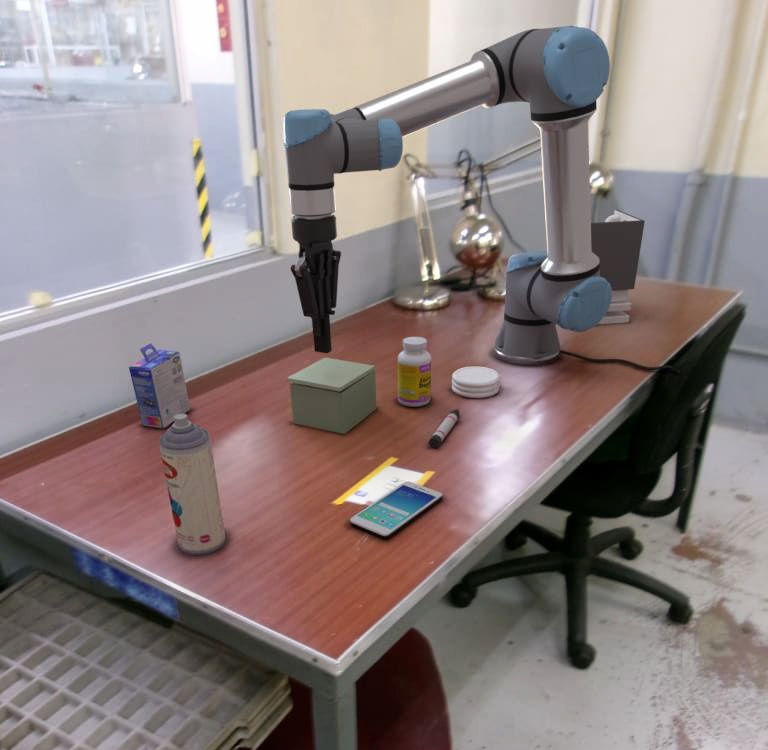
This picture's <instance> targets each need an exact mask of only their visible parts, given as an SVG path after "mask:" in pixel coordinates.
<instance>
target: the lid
mask: <svg viewBox="0 0 768 750" xmlns="http://www.w3.org/2000/svg"><path fill="white" fill-rule="evenodd" d="M374 370H375V371H376V365H372V364H366V363H361V362H354V361H348V360H343V359H337V358H331V357H326V356H325V357H323V358H321V359H319V360H318V361H316V362H314V363H312V364H310V365H307V367H304V368H303V369H301V370H299V371H297V372H295V373H293V374H291V375H289V376H288V377H286V382H287V383H297V384H302V385H307V386H313V387H318V388H323V389H329V390H334V391H339V392H340V391H342V390H343V389H345V388H347V387H348V386H350V385H351V384H353V383H355V382H356V381H358V380H359V379H361V378H363V377H364V376H366V375H368V374H369V373H371V372H372V371H374Z"/></svg>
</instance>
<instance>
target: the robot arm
mask: <svg viewBox="0 0 768 750" xmlns="http://www.w3.org/2000/svg"><path fill="white" fill-rule="evenodd" d="M610 70H611V63H610V55H609V51H608V47H607V45H606V44H605V41H604V40H603V39H602V37H601V36H599V35H598V34H597V32H595V31H594V30H593V29H590V28H587V27H582V26H581V27H580V26H574V25H565V26H554V27H546V28H531V29H526V30H523V31H521V32H518V33H516V34H514V35H512V36H509V37H507V38H505V39H502V40H500V41H498V42H496V43H493V44H491V45H490V46H487V47H485V48H483V49H480V50H478V51H476V52H474V53H473V54H472V56H471V58H470V60H469V61H467V62H464V63H462V64H459V65H457V66H455V67H452V68H449V69H446V70H445V71H441V72H439V73H436V74H435V75H432V76H429V77H427V78H424V79H422V80H419V81H416V82H414V83H411V84H410V85H407V86H404V87H402V88H399V89H397V90H394V91H392V92H389V93H386V94H384V95H381V96H379V97H376V98H374V99H372V100H369V101H365V102H364V103H361V104H359V105H357V106H354V107H352V108H348V109H346V110H343V111H341V112H339V113H335V114H333V113H331V112H330V111H328V110H327V109H324V108H318V109H317V108H312V109H310V108H309V109H306V108H305V109H294V110H293V109H292V110H289V111H287V112H286V113H285V115H284V116H283V146H284V153H285V154H284V155H285V163H286V172H287V173H286V175H287V181H288V183H287V184H288V197H289V206H290V213H291V214H292V215H293V216H292V217H291V219H290V222H291V223H290V224H291V234H292V239H293V240H294V241H295V242H296V243H297V244H298V248H299V249H298V261H297V263H296V264H291V266H290V271H291V274H292V275H293V277H294V280H295V285H296V288H297V289H296V290H297V293H298V298H299V302H300V304H301V305H300V306H301V311H302V313H303V314H302V315H303V316H304V317H307V318H310V319H311V325H312V326H311V327H312V334H313V347H314V352H316V353H322V354H329V353H331V352H332V337H331V317H330V316H334V315H335V314H336V310H334V309H336V308H337V302H338V286H339V285H338V283H339V267H340V261H341V256H342V252H341V250H335V249H334V245H333V242H332V241H335V239H337V237H338V227H337V217H336V215H335V214H334V213H335V212H336V211H337V207H336V205H337V204H336V194H335V193H336V192H335V175H336V174H345V173H357V172H371V171H378V172H382V170H383V171H384V170H389V169H394V168H396V167H397V166H398V165H399V163H400V162H401V160H402V156H403V150H404V147H403V146H404V144H403V143H404V142H403V141H404V139H403V138H404V137H407V136H410V135H412V134H415V133H417V132H419V131H421V130H424V129H427V128H429V127H432V126H434V125H437V124H438V123H441V122H444V121H447V120H449V119H451V118H454V117H456V116H458V115H461V114H464V113H465V112H469V111H471V110H473V109H476V108H478V107H481V106H482V107H483V108H485V109H491V108H493V107H496V106H499V105H502V104H508V103H518V102H519V103H529V113H530V121H531V123H532V124H533V125H535V126H536V127H537V128H538V129H539V133H540V136H539V137H540V150H541V166H542V167H541V168H542V169H541V170H542V183H543V185H542V186H543V201H544V202H543V203H544V215H545V216H544V217H545V218H544V219H545V233H546V235H545V237H546V249H547V250H540V251H539V250H538V251H527V252H525V251H524V252H519V253H515V254H513V255H511V256H510V257H509V259H508V260H507V267H506V271H505V275H506V281H505V296H504V310H503V312H504V313H503V322H502V324H501V327H500V329H499V332H498V333H497V336H496V338H495V342H494V344H493V355H494V357H495V358H496V359H498V360H499V361H502V362H504V363H508V364H511V365H518V366H543V365H547V364H551V363H554V362H557V361H558V360H559V358H560V357H561V354H562V355H566V356H570V357H573V358H577V359H580V360H582V361H586V362H590V363H621V364H626V365H630V366H632V367H634V368H637V369H641V370H645V371H660V370H667V369H668V370H672V371H674V372H675V373H676V374H681V372H680V370H679V369H678V370H675V369H674V368H671V367H672V366H673V365H659V366H645V365H641V364H638V363H636V362H633V361H631V360H626V359H623V358H622V359H620V358H591V357H586V356H583V355H580V354H577V353H574V352H570V351H566V350H562V349H561V343H560V339H559V335H558V329H557V326H558V327H560V328H561V329H563V330H568V331H571V332H575V333H582V332H586V331H589V330H591V329H593V328H595V327H596V326H597V325H599V324H598V323H599V322H600V321H601V320H602V317H603V316H604V315H605V314H606V313H607V311H608V309H609V307H610V304H611V300H612V289H611V286H610V284H609V282H607V280H606V279H605V278H603V277H601V276H600V260H599V257H598V256H597V255H595V254H594V253H593V252H592V250H591V223H592V221H591V219H592V218H591V217H592V215H591V214H592V213H591V180H590V178H591V176H590V174H591V173H590V142H589V141H590V137H589V122H590V119H591V118H592V117H593V115H594V114H595V113H596V112H597V109H598V107H597V100H598V99H599V98H600V97H601V95H602V94H603V93H604V92H605V91H604V90H605V89H604V87H605V86H607V84H608V81H609V77H610ZM332 309H333V310H332ZM556 325H557V326H556Z"/></svg>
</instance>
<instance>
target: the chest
mask: <svg viewBox="0 0 768 750" xmlns="http://www.w3.org/2000/svg"><path fill="white" fill-rule="evenodd" d="M376 379H377V377H376V369H375V370H374V371H372V372H371V373H369V374H368V375H366V376H364V377H363V378H361V379H359V380H358V381H356V382H355V383H353V384H351V385H350V386H348V387H347V388H345V389H343V390H342V391H340V392H339V391H334V390H329V389H323V388H318V387H313V386H307V385H302V384H297V383H291V382H289V389H290V390H289V391H290V401H291V413H292V423H293V424H295V425H300V426H305V427H309V428H313V429H314V428H315V429H319V430H324V431H328V432H333V433H337V434H342V435H345V434H346V433H348V432H349V431H350V430H352V428H354V427H356V426H357V425H358V424H359V423H361V421H363V420H364V419H366V418H367V417H368V416H370V415H371V414H372V413H373V412H374V411H376V410H377V385H376V384H377V381H376Z"/></svg>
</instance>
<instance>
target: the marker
mask: <svg viewBox="0 0 768 750" xmlns="http://www.w3.org/2000/svg"><path fill="white" fill-rule="evenodd" d="M459 418H460V409H459V408H457V409H454V410H451V411H450V412H449V414H447V416H446V417H445V418H444V420H443V421H442V422H441V424H440V425H439V427H437V429H436V431H435V432H434V433H433V434H432V435H431V437H430V438H429V440H428V445H429V447H431V448H433V449H437V448H438V447H439V446H440V444H441V443H442V442H443V441H444V439H445V438H446V437H447V435H448V434H449V432H450V431H451V430H452V428H453V427H454V425H455V424H456V423H457V421H458V419H459Z"/></svg>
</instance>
